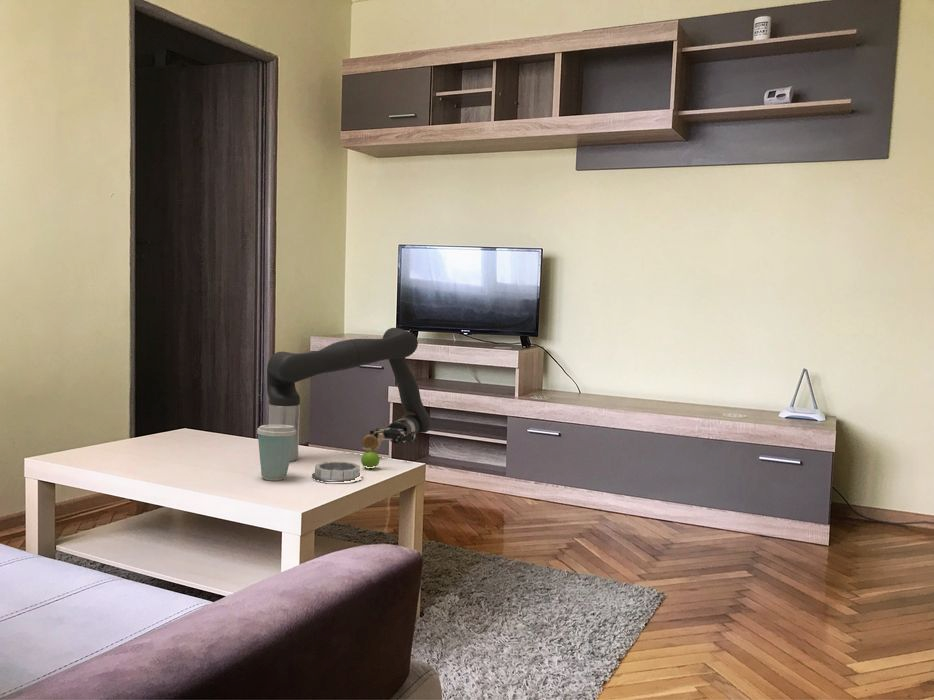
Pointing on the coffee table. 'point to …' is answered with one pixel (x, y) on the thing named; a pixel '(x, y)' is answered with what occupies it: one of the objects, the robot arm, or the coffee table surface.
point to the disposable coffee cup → (275, 450)
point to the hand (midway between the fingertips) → (385, 439)
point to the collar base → (336, 471)
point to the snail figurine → (371, 450)
